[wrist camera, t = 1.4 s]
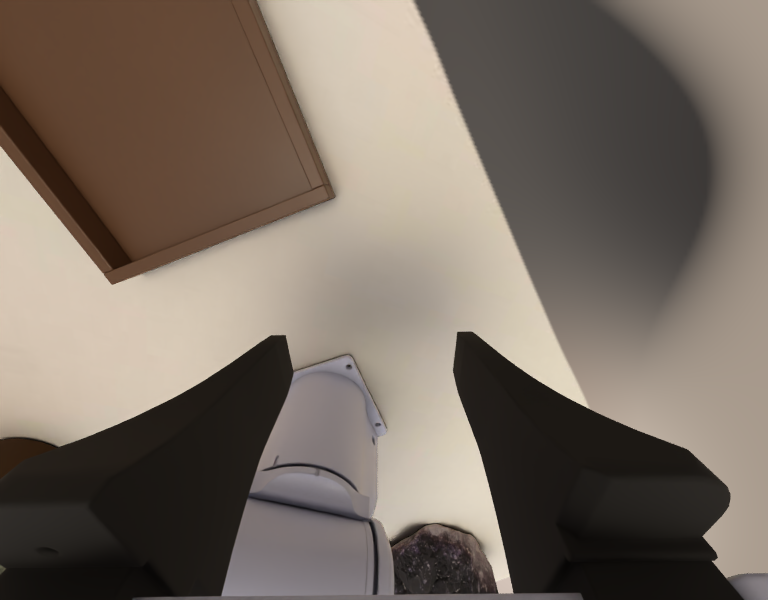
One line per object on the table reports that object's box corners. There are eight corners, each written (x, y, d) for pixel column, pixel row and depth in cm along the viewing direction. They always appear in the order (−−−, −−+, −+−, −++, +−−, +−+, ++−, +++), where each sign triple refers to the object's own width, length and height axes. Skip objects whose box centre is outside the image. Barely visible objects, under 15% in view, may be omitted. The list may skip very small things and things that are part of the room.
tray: (335, 197, 18) (330, 198, 16) (141, 274, 20) (111, 285, 18) (155, -250, 11) (101, -357, 9) (-119, -73, 13) (-220, -126, 11)
